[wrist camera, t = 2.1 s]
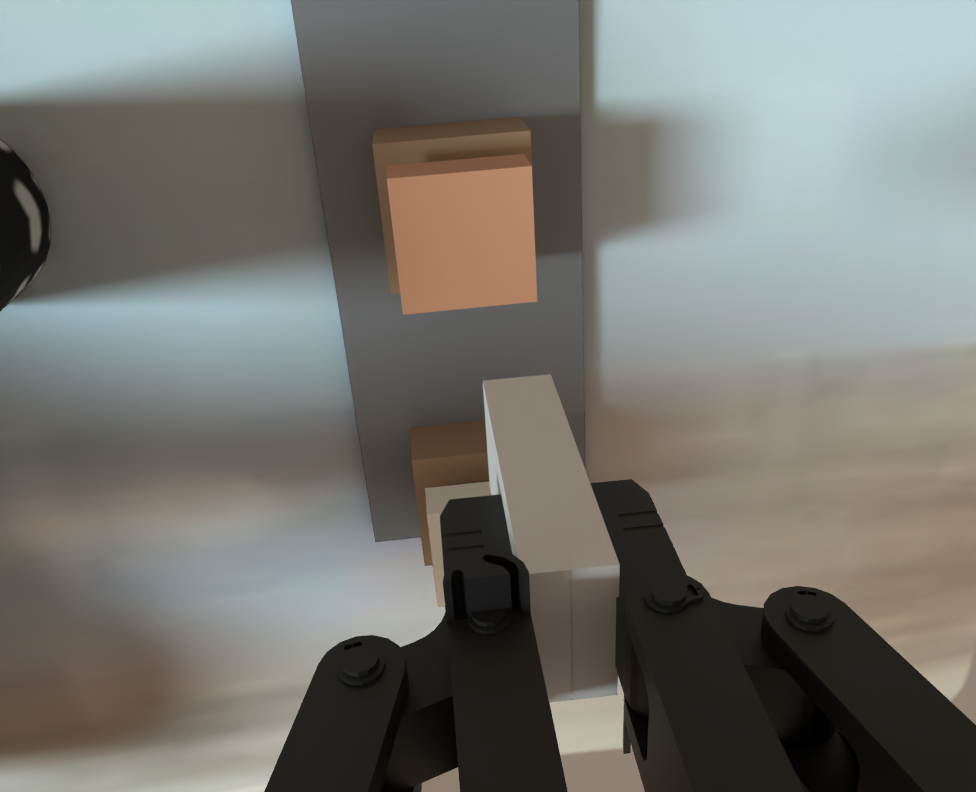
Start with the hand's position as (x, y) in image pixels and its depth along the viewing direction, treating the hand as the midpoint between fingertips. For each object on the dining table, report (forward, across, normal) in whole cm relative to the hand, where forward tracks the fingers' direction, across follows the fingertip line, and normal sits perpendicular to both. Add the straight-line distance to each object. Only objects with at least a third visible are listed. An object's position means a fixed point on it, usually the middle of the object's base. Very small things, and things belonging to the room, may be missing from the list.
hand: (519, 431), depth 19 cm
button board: (+21, 0, 0) cm, 21 cm away
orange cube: (+18, 0, 0) cm, 18 cm away
